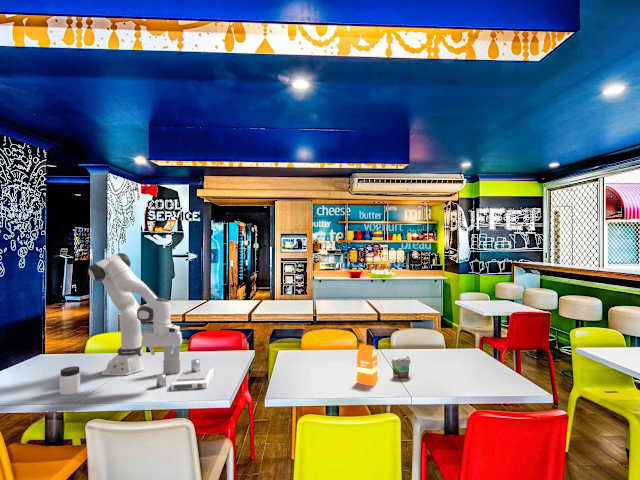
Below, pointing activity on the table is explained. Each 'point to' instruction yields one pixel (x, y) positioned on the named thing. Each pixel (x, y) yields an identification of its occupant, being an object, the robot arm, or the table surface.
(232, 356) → the table surface
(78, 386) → the jar
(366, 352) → the orange juice
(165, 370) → the tall pale column
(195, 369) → the cylinder
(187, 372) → the white rimmed tray
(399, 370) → the food container
